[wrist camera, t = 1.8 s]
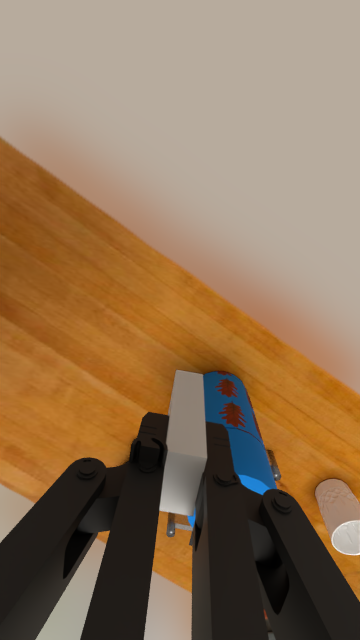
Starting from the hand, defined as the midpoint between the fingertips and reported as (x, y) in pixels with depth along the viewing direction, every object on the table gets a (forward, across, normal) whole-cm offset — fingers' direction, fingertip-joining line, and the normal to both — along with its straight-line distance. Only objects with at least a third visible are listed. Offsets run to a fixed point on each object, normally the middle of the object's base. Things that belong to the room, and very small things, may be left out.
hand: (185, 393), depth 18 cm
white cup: (+37, +36, -37) cm, 64 cm away
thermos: (+37, +9, -20) cm, 43 cm away
